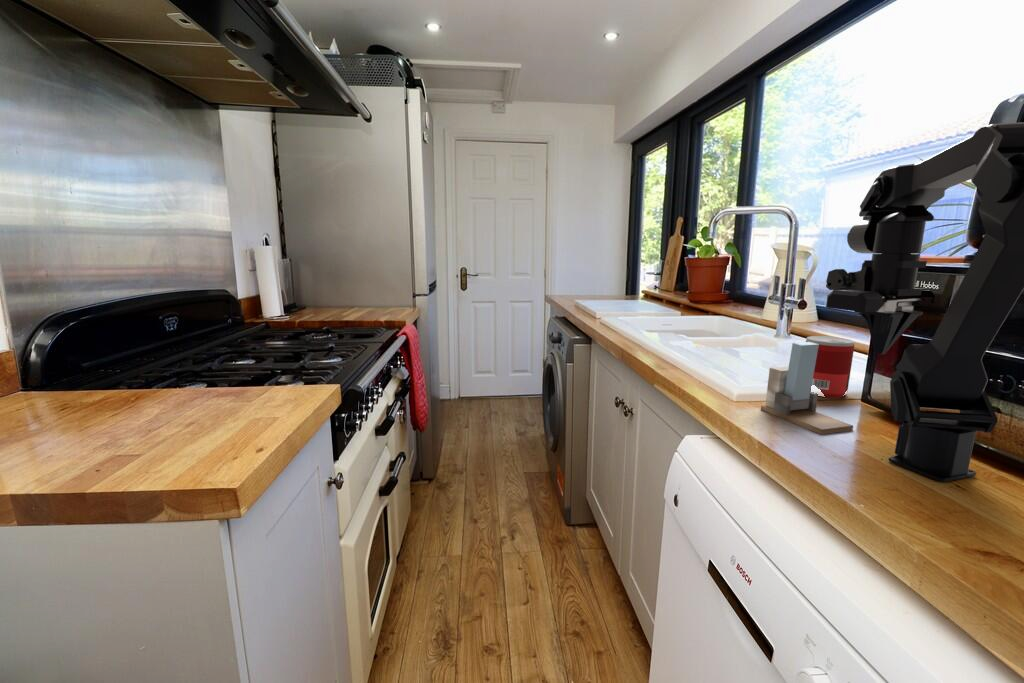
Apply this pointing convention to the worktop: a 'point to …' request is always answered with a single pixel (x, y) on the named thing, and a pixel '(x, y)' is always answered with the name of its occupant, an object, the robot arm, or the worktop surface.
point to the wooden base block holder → (804, 417)
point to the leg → (801, 374)
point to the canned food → (832, 365)
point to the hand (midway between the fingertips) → (879, 353)
